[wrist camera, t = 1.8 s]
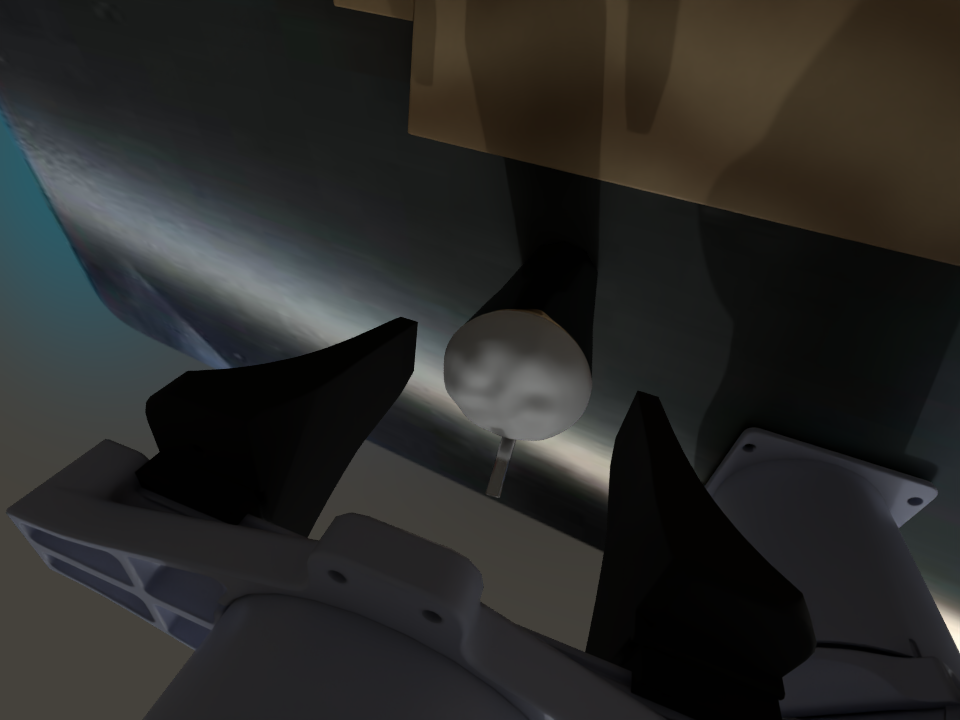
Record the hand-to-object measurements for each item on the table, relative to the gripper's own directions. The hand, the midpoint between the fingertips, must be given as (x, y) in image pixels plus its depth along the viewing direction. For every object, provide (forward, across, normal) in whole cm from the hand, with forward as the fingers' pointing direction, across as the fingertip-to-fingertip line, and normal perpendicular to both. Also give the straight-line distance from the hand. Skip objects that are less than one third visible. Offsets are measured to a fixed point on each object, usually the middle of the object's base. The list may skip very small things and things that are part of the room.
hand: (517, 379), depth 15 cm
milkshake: (+8, 0, 0) cm, 8 cm away
